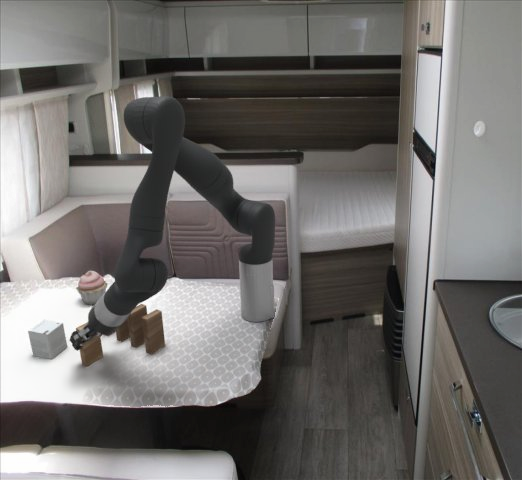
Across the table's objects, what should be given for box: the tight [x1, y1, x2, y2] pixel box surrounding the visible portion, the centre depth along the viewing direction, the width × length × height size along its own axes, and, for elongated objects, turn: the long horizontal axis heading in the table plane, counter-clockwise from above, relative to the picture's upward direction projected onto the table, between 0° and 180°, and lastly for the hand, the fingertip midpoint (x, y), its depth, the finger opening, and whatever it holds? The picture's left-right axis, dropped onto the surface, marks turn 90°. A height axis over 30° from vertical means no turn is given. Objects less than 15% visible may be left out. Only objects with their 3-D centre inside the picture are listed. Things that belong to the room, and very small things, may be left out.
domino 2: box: [115, 319, 130, 343], centre depth 135 cm, size 2×5×10 cm, turn 145°
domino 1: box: [75, 322, 104, 367], centre depth 125 cm, size 2×5×10 cm, turn 145°
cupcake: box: [75, 270, 109, 305], centre depth 156 cm, size 9×9×10 cm
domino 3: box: [127, 303, 148, 349], centre depth 132 cm, size 2×5×10 cm, turn 145°
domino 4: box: [142, 309, 166, 356], centre depth 129 cm, size 2×5×10 cm, turn 145°
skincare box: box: [27, 319, 68, 360], centre depth 130 cm, size 6×6×7 cm
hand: (85, 341), depth 126 cm, fingers closed on domino 1, 5 cm apart
